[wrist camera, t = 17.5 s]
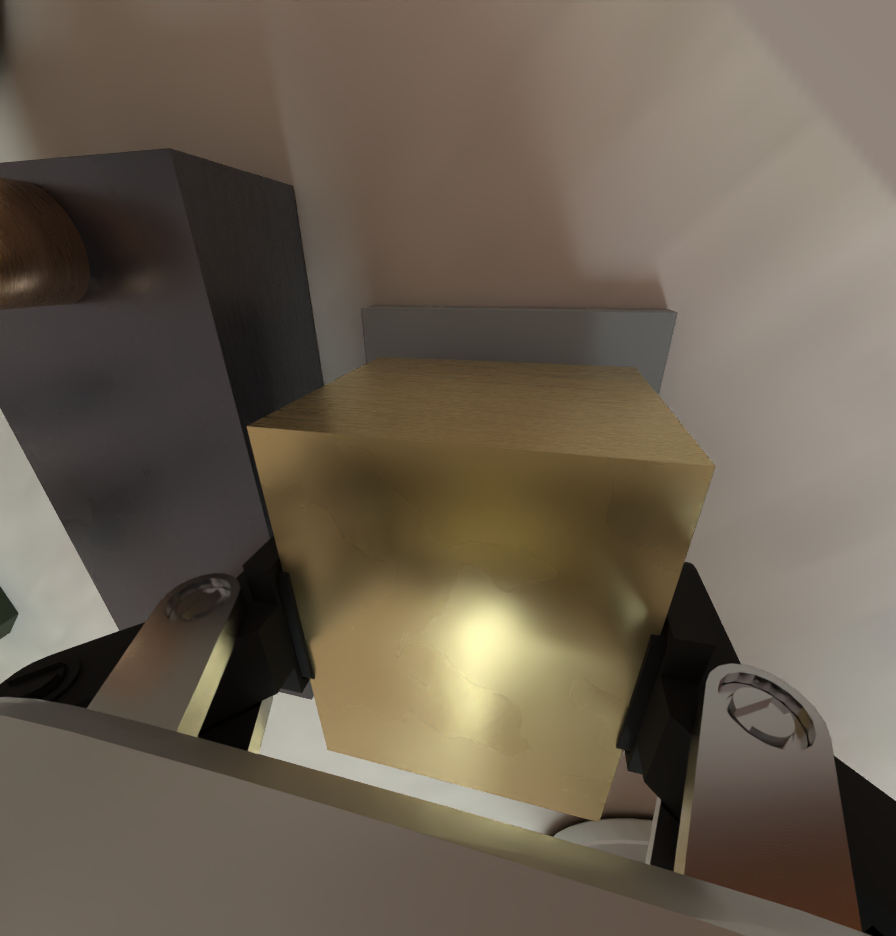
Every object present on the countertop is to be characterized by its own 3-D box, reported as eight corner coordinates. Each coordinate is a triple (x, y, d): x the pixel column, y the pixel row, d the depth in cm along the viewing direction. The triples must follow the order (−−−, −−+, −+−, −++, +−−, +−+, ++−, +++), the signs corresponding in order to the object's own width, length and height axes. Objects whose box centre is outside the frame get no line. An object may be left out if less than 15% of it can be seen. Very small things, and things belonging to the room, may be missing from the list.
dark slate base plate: (358, 615, 18) (176, 942, 9) (207, 587, 20) (-66, 842, 11) (292, 185, 11) (-779, -142, 2) (63, 199, 12) (-1060, 47, 4)
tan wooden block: (583, 627, 12) (599, 822, 8) (399, 595, 14) (327, 749, 9) (635, 367, 9) (715, 465, 4) (379, 356, 10) (246, 425, 6)
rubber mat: (602, 603, 15) (605, 620, 14) (395, 570, 16) (388, 584, 16) (668, 309, 10) (677, 312, 9) (372, 305, 12) (361, 308, 11)
